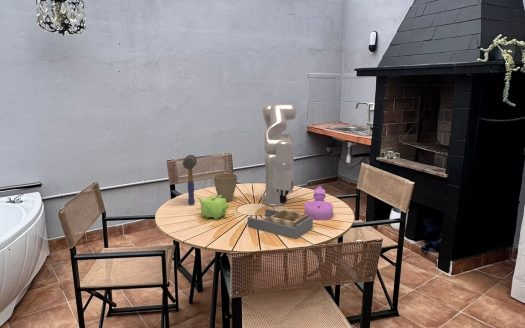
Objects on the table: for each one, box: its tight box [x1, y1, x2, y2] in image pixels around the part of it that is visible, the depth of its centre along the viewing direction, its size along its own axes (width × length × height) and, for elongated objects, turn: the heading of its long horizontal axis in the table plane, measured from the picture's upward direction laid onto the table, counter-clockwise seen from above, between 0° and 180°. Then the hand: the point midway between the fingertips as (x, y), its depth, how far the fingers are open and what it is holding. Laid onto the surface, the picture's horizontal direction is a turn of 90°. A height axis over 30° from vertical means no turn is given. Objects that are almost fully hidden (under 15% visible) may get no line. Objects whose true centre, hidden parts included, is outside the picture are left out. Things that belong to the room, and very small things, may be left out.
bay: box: [247, 208, 314, 240], centre depth 190 cm, size 28×17×6 cm, turn 56°
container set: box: [304, 185, 334, 221], centre depth 213 cm, size 25×15×13 cm, turn 171°
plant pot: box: [212, 172, 238, 203], centre depth 235 cm, size 15×15×16 cm
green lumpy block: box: [197, 195, 231, 220], centre depth 206 cm, size 15×14×11 cm
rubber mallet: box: [182, 154, 198, 206], centre depth 226 cm, size 12×8×30 cm, turn 3°
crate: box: [269, 209, 308, 227], centre depth 187 cm, size 14×14×6 cm
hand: (283, 202), depth 187 cm, fingers closed
